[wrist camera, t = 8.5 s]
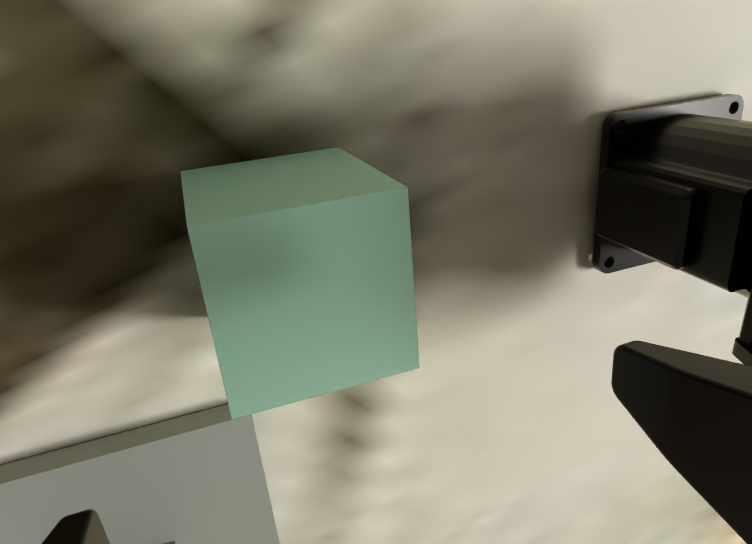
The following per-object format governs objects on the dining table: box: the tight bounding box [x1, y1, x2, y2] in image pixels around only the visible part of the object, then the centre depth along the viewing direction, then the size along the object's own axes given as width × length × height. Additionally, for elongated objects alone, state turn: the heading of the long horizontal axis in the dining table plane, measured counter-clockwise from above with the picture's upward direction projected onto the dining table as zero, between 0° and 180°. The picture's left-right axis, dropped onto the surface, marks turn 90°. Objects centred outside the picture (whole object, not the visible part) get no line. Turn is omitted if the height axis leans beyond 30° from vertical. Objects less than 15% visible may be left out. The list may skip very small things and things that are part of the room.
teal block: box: [180, 147, 419, 419], centre depth 16 cm, size 5×5×6 cm
